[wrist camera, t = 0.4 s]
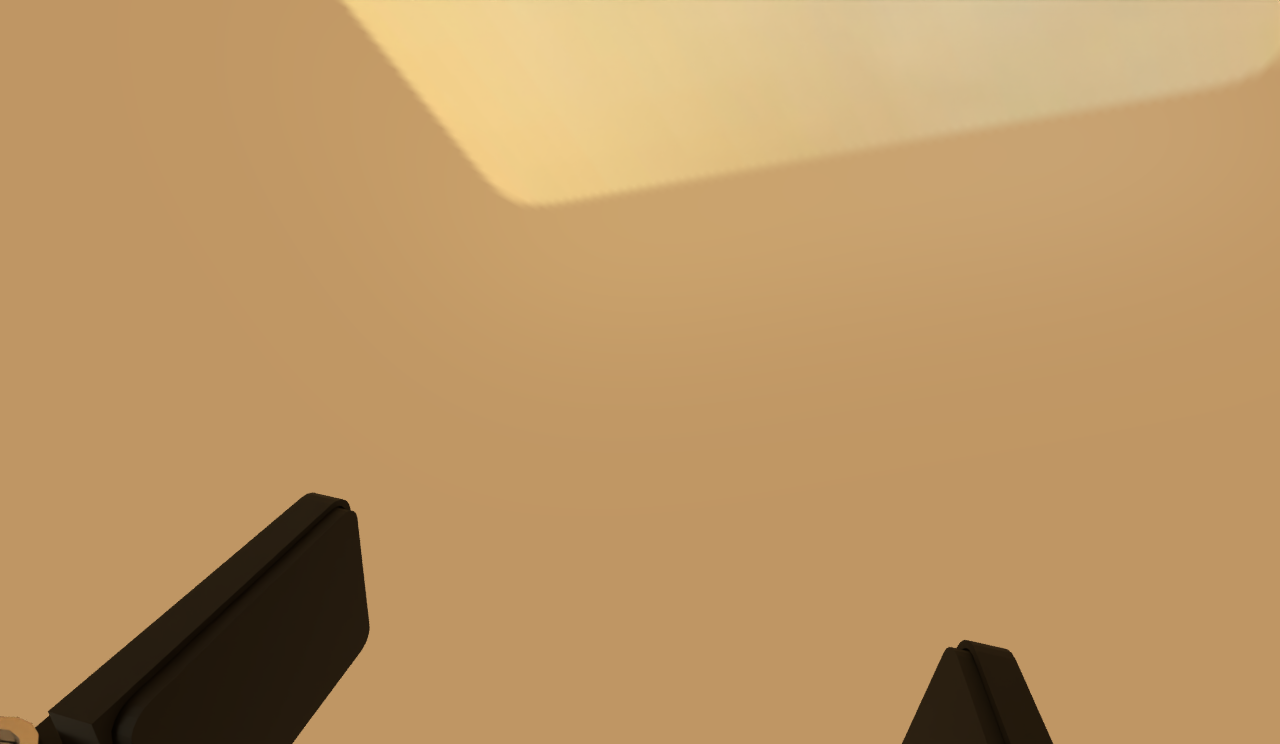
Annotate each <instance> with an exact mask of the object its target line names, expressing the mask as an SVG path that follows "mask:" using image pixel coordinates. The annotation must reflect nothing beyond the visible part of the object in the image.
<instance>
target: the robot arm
mask: <svg viewBox="0 0 1280 744" xmlns="http://www.w3.org/2000/svg"><path fill="white" fill-rule="evenodd" d="M362 565H363V564H362V555H361V546H360V538H359V529H358V520H357V515H356V513H355V512H354V511H351V510H350V506H349V504H348V502H347V501H346V500H343V499H339V498H334V497H330V496H325V495H321V494H316V493H309V494H306V495H305V496H303V497H302V498H300V499H299V500H298V501H297V502H296V503H295V504H294V505H292V506H291V507H290V508H289V509H287V510H286V511H285V512H284V513H283V514H282V515H280V516H279V517H278V518H277V519H276V520H274V521H273V522H272V523H271V524H270V525H269V526H267V527H266V528H265V529H264V530H263V531H261V532H260V533H259V534H258V535H257V536H256V537H254V538H253V539H252V540H251V541H249V542H248V543H247V544H246V545H245V546H244V547H242V548H241V549H240V550H239V551H238V552H236V553H235V554H234V555H233V556H232V557H231V558H229V559H228V560H227V561H226V562H225V563H223V564H222V565H221V566H220V567H219V568H217V569H216V570H215V571H214V572H213V573H212V574H210V575H209V576H208V577H207V578H206V579H205V580H203V581H202V582H201V583H200V584H199V585H197V586H196V587H195V588H194V589H193V590H191V591H190V592H189V593H188V594H187V595H185V596H184V597H183V598H182V599H181V600H180V601H178V602H177V603H176V604H175V605H174V606H172V607H171V608H170V609H169V610H168V611H166V612H165V613H164V614H163V615H162V616H161V617H160V618H158V619H157V620H156V621H155V622H154V623H152V624H151V625H150V626H149V627H148V628H146V629H145V630H144V631H143V632H142V633H140V634H139V635H138V636H137V637H136V638H134V639H133V640H132V641H131V642H130V643H129V644H127V645H126V646H125V647H124V648H123V649H121V650H120V651H119V652H118V653H117V654H116V655H114V656H113V657H112V658H111V659H110V660H108V661H107V662H106V663H105V664H104V665H102V666H101V667H100V668H99V669H98V670H97V671H95V672H94V673H93V674H92V675H91V676H89V677H88V678H87V679H86V680H85V681H84V682H82V683H81V684H80V685H79V686H78V687H76V688H75V689H74V690H73V691H72V692H71V693H69V694H68V695H67V696H66V697H65V698H63V699H62V700H61V701H60V702H59V703H58V704H56V705H55V706H54V707H53V708H52V709H50V710H49V711H48V713H49V716H48V717H47V718H46V719H45V720H44V721H43V722H41V723H40V724H39V725H38V726H37V727H34V726H33V724H32V723H30V722H28V721H26V720H24V719H21V718H19V717H1V716H0V744H292V743H293V742H294V740H295V739H296V738H297V736H298V735H299V734H300V732H301V731H302V730H303V728H304V727H305V726H306V724H307V723H308V722H309V720H310V719H311V717H312V716H313V715H314V714H315V712H316V711H317V710H318V708H319V707H320V705H321V704H322V703H323V701H324V700H325V699H326V697H327V696H328V695H329V693H330V692H331V691H332V689H333V688H334V686H335V685H336V684H337V682H338V681H339V680H340V679H341V677H342V676H343V675H344V673H345V672H346V671H347V669H348V668H349V666H350V665H351V664H352V662H353V661H354V660H355V658H356V657H357V656H358V654H359V653H360V652H361V650H362V649H363V647H364V645H365V643H366V641H367V638H368V634H369V617H368V609H367V600H366V591H365V583H364V573H363V566H362ZM902 744H1053V742H1052V740H1051V738H1050V736H1049V734H1048V731H1047V729H1046V727H1045V724H1044V722H1043V720H1042V718H1041V715H1040V713H1039V711H1038V709H1037V707H1036V704H1035V702H1034V700H1033V697H1032V695H1031V693H1030V691H1029V689H1028V686H1027V684H1026V682H1025V680H1024V677H1023V675H1022V673H1021V671H1020V668H1019V666H1018V664H1017V662H1016V660H1015V658H1014V657H1013V655H1012V653H1011V652H1010V651H1009V650H1007V649H1004V648H999V647H995V646H990V645H986V644H981V643H977V642H973V641H968V640H963V641H962V642H960V643H959V645H958V647H957V648H952V647H949V648H947V649H946V650H945V652H944V653H943V656H942V658H941V660H940V662H939V664H938V666H937V668H936V671H935V673H934V675H933V677H932V679H931V682H930V684H929V686H928V688H927V691H926V693H925V695H924V697H923V699H922V701H921V703H920V705H919V708H918V710H917V712H916V715H915V717H914V719H913V721H912V723H911V725H910V727H909V730H908V732H907V734H906V736H905V738H904V740H903V743H902Z"/></svg>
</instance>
